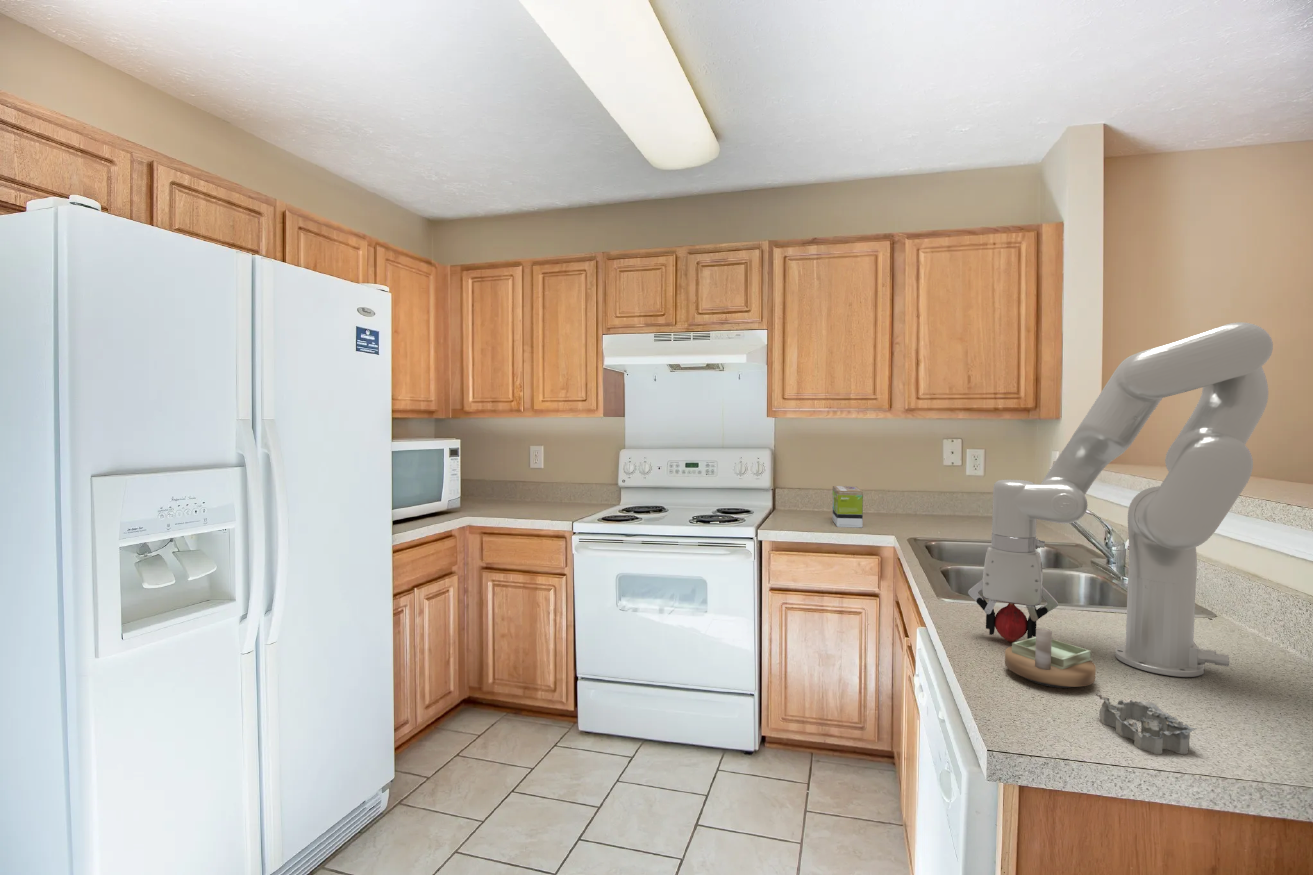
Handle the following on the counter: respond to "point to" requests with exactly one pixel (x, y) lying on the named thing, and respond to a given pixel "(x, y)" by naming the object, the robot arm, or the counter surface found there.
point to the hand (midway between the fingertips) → (1010, 635)
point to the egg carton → (1146, 725)
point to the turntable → (1050, 661)
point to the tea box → (848, 506)
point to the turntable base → (1048, 684)
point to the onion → (1011, 623)
